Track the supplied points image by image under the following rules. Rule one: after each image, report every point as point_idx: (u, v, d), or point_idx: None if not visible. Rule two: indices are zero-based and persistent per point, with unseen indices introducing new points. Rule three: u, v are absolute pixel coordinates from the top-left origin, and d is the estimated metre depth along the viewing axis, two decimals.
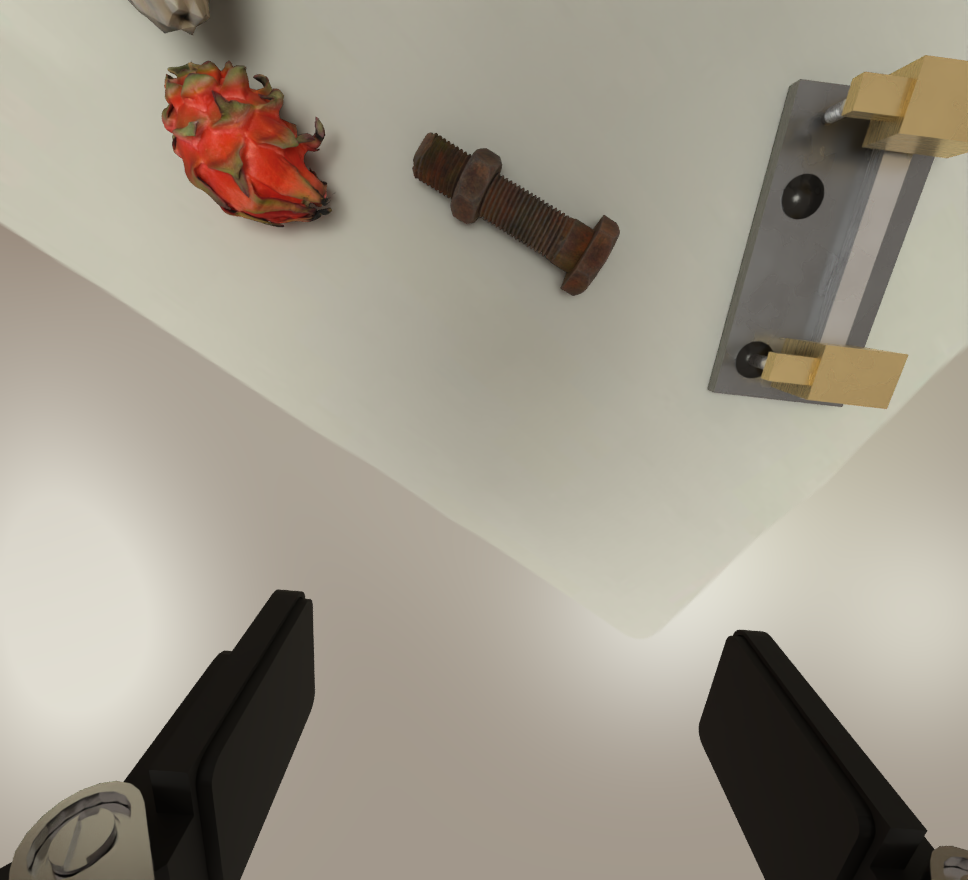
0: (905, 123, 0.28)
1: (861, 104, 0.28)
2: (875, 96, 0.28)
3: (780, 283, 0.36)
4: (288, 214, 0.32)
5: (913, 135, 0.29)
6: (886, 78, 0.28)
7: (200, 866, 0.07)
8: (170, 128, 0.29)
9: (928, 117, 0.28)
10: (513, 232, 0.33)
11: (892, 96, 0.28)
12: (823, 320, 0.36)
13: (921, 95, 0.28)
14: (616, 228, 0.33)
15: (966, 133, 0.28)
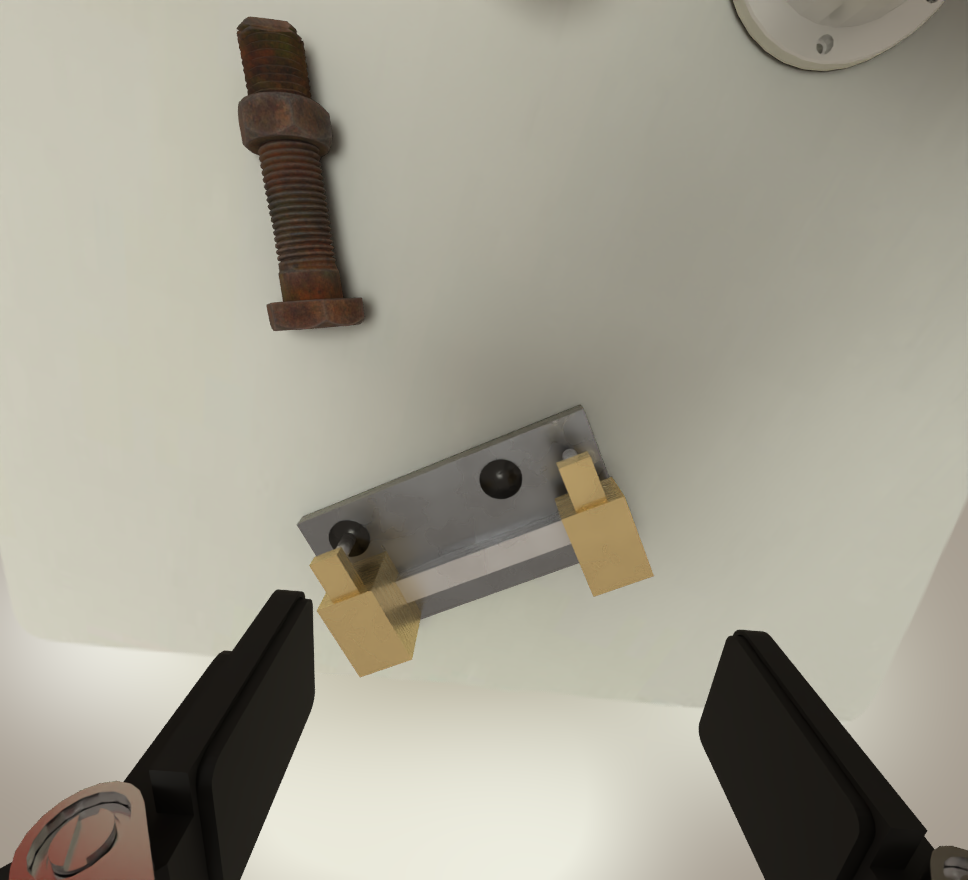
0: (570, 519, 0.28)
1: (566, 472, 0.27)
2: (578, 479, 0.28)
3: (424, 512, 0.33)
4: None
5: None
6: (595, 478, 0.28)
7: (202, 865, 0.07)
8: None
9: (584, 533, 0.28)
10: (269, 207, 0.26)
11: (585, 494, 0.28)
12: (416, 570, 0.34)
13: (596, 515, 0.28)
14: (352, 319, 0.27)
15: (590, 571, 0.29)
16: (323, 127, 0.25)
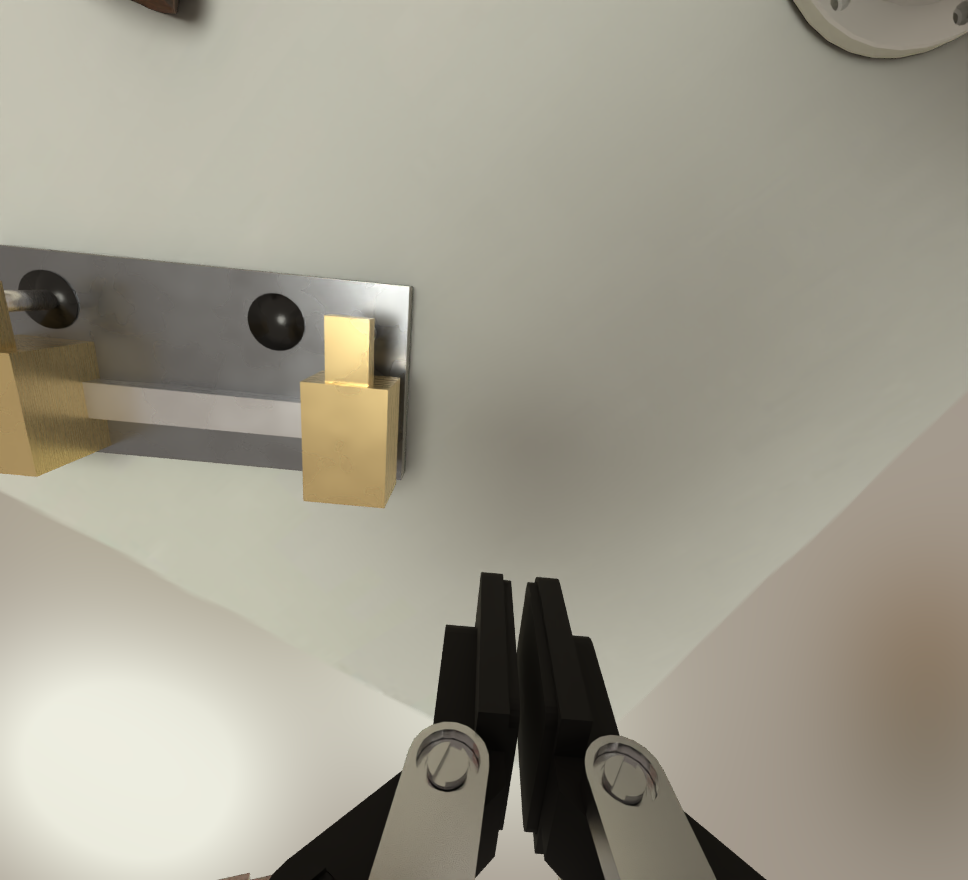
0: (312, 387, 0.21)
1: (332, 325, 0.21)
2: (343, 342, 0.21)
3: (163, 316, 0.25)
4: None
5: None
6: (364, 351, 0.21)
7: None
8: None
9: (322, 414, 0.21)
10: None
11: (345, 366, 0.21)
12: (119, 383, 0.25)
13: (345, 398, 0.21)
14: None
15: (311, 466, 0.22)
16: None
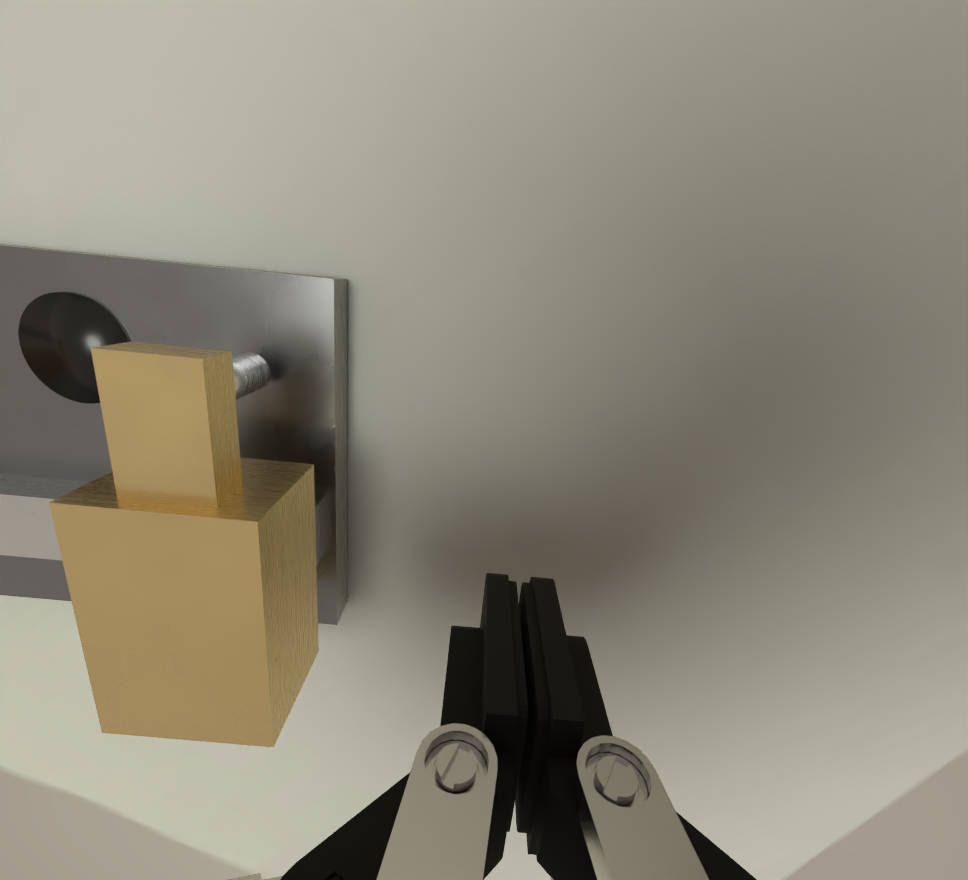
0: (79, 514, 0.09)
1: (115, 373, 0.08)
2: (146, 412, 0.09)
3: None
4: None
5: (60, 545, 0.09)
6: (198, 432, 0.09)
7: None
8: None
9: (113, 571, 0.09)
10: None
11: (159, 464, 0.09)
12: None
13: (160, 538, 0.09)
14: None
15: (106, 671, 0.10)
16: None
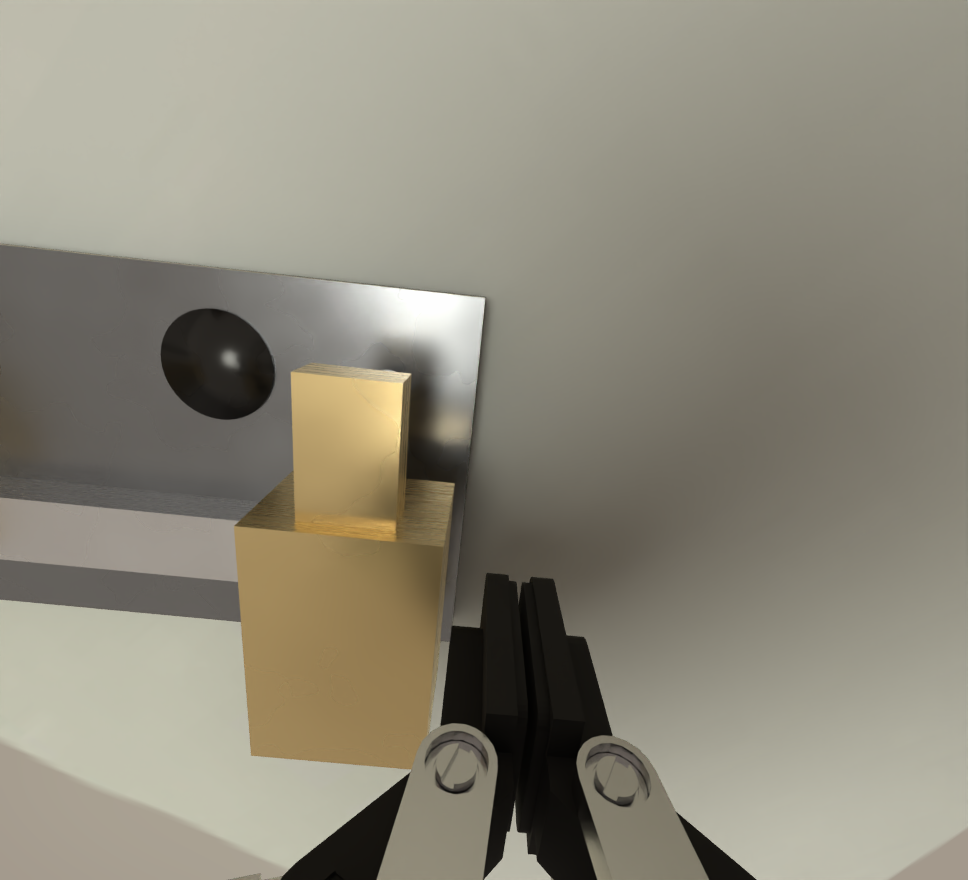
0: (262, 537, 0.09)
1: (311, 396, 0.08)
2: (338, 435, 0.09)
3: None
4: None
5: (237, 569, 0.09)
6: (388, 456, 0.09)
7: None
8: None
9: (288, 594, 0.09)
10: None
11: (343, 487, 0.09)
12: None
13: (341, 562, 0.09)
14: None
15: (266, 694, 0.10)
16: None
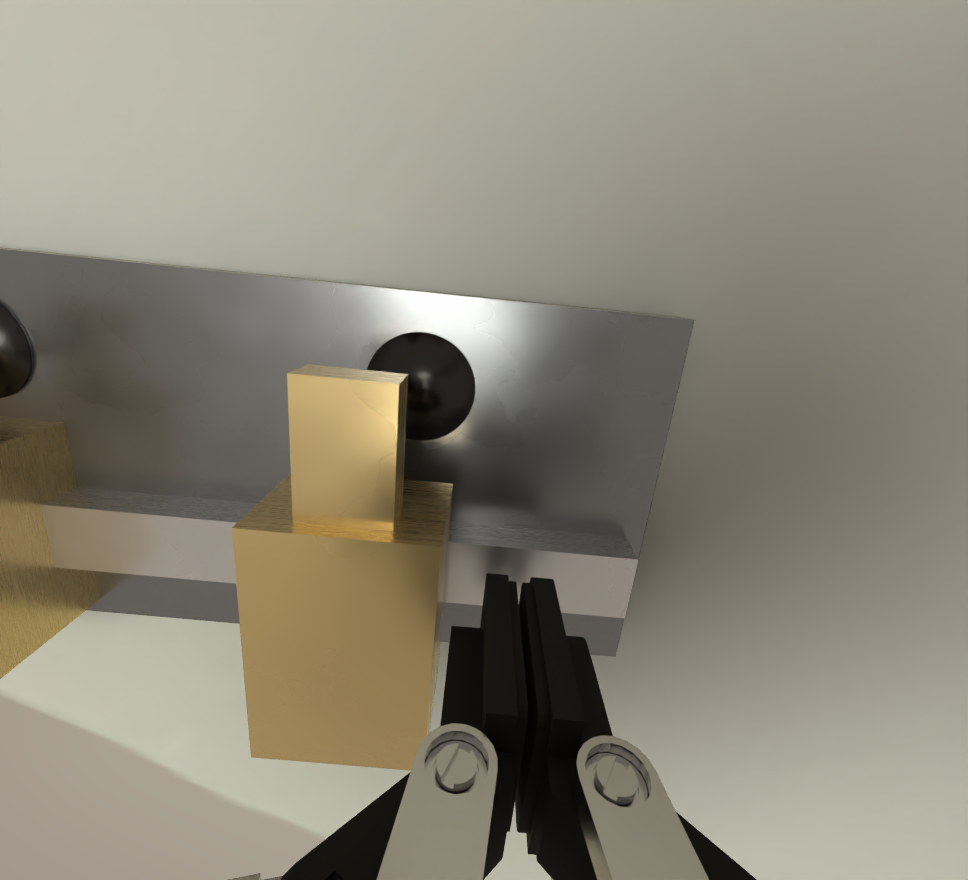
0: (260, 539, 0.09)
1: (308, 398, 0.08)
2: (335, 436, 0.09)
3: (199, 376, 0.13)
4: None
5: (235, 571, 0.09)
6: (385, 456, 0.09)
7: None
8: None
9: (287, 596, 0.09)
10: None
11: (340, 489, 0.09)
12: (114, 502, 0.13)
13: (339, 563, 0.09)
14: None
15: (265, 696, 0.10)
16: None
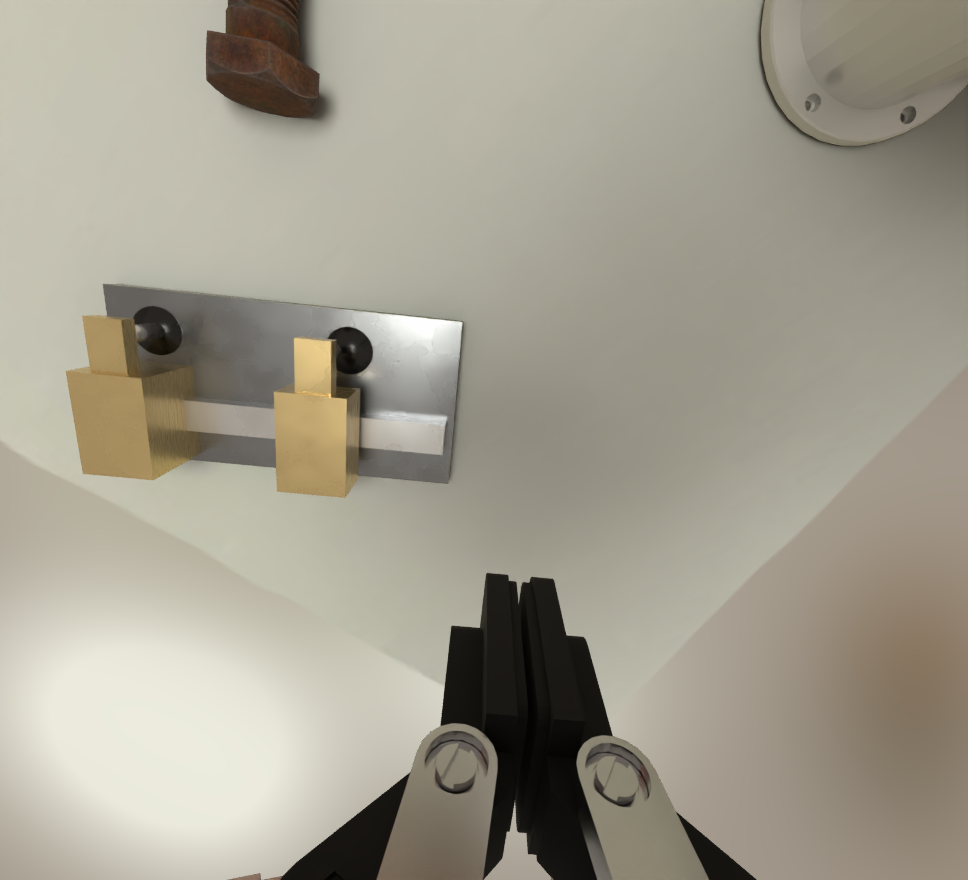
0: (283, 396, 0.26)
1: (300, 346, 0.25)
2: (310, 360, 0.25)
3: (253, 345, 0.29)
4: None
5: (274, 408, 0.26)
6: (327, 367, 0.25)
7: None
8: None
9: (292, 418, 0.26)
10: None
11: (312, 379, 0.26)
12: (214, 401, 0.30)
13: (311, 405, 0.26)
14: (302, 90, 0.24)
15: (283, 462, 0.27)
16: None
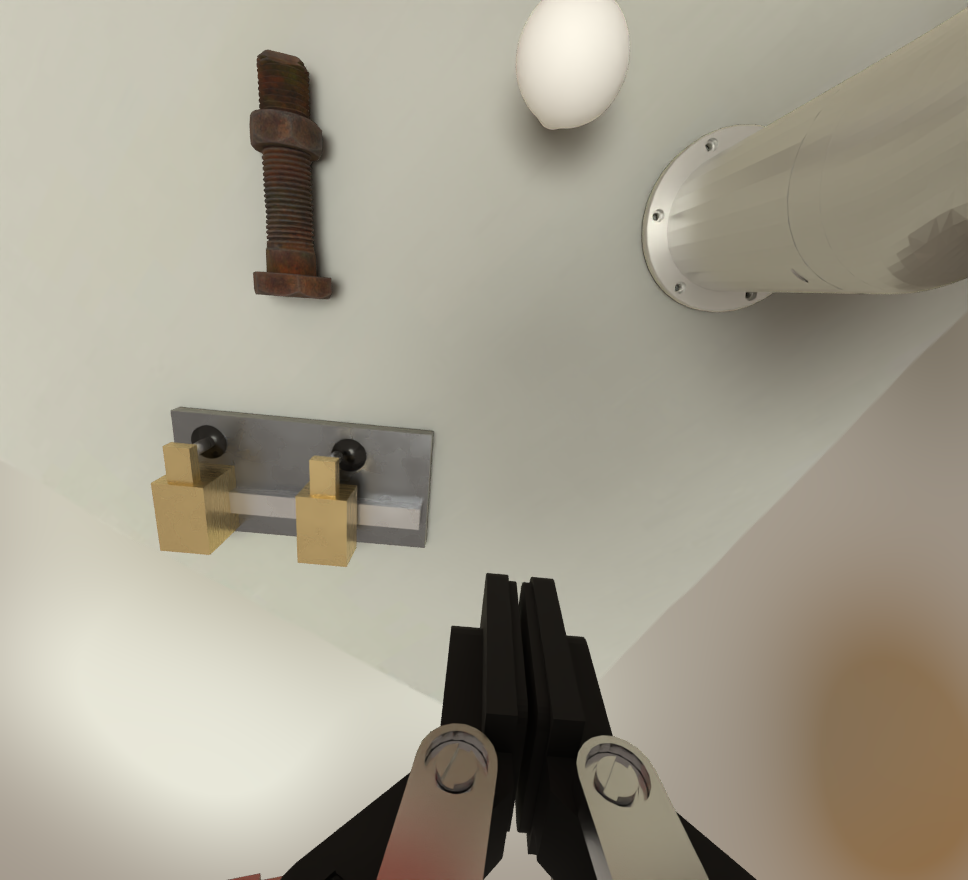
0: (302, 499, 0.36)
1: (314, 465, 0.36)
2: (320, 474, 0.36)
3: (279, 451, 0.40)
4: None
5: None
6: (332, 479, 0.36)
7: None
8: None
9: (308, 514, 0.36)
10: (265, 196, 0.32)
11: (322, 486, 0.36)
12: (250, 491, 0.40)
13: (321, 505, 0.36)
14: (321, 294, 0.34)
15: (302, 543, 0.37)
16: (315, 141, 0.31)
